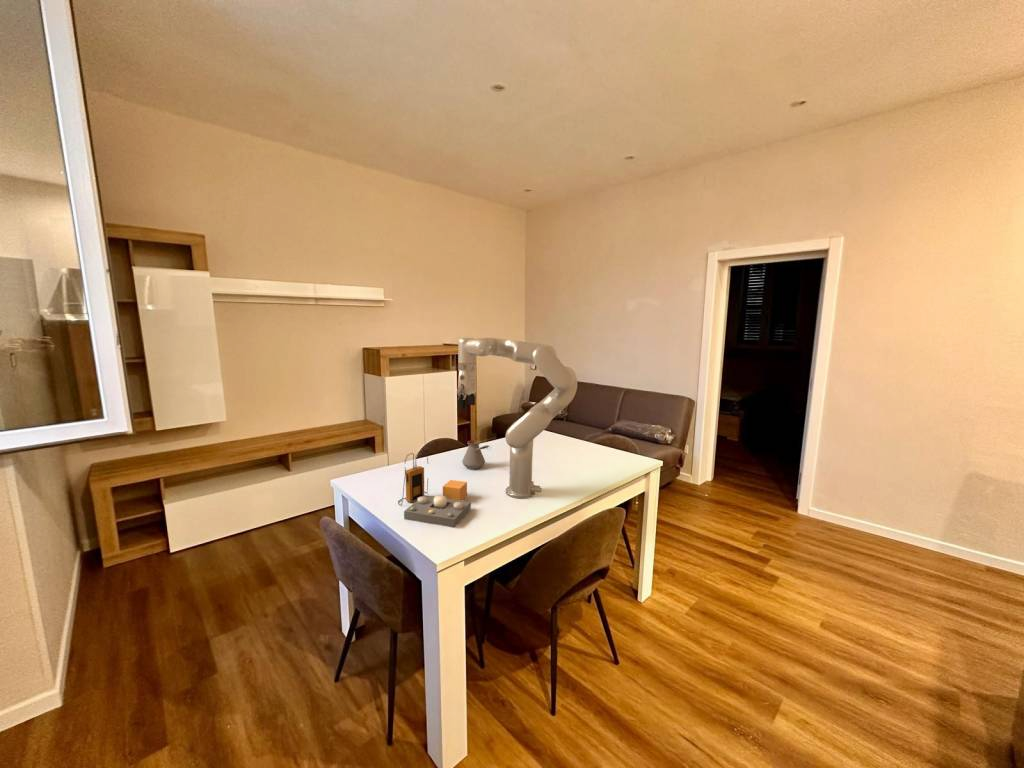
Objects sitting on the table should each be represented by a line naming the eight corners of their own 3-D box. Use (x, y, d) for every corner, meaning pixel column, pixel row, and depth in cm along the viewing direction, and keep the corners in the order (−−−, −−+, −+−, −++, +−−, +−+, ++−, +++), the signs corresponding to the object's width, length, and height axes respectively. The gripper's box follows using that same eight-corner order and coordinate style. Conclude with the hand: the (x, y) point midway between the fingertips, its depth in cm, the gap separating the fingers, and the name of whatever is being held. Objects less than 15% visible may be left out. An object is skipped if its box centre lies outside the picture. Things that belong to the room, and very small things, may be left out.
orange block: (466, 495, 169) (466, 482, 168) (459, 503, 162) (459, 488, 161) (450, 493, 171) (450, 479, 170) (442, 500, 164) (442, 486, 163)
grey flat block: (470, 509, 156) (470, 498, 156) (454, 527, 142) (454, 515, 141) (424, 502, 162) (424, 491, 161) (404, 519, 147) (403, 507, 147)
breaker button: (448, 504, 154) (448, 496, 154) (443, 509, 150) (443, 501, 149) (437, 502, 156) (437, 494, 155) (431, 507, 151) (431, 499, 151)
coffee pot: (458, 465, 205) (458, 436, 203) (478, 461, 211) (478, 433, 209) (478, 479, 187) (478, 447, 185) (499, 474, 193) (499, 444, 191)
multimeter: (416, 488, 175) (416, 443, 172) (431, 495, 169) (431, 448, 166) (387, 499, 164) (385, 451, 161) (402, 506, 158) (400, 457, 155)
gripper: (466, 369, 161) (466, 411, 164) (483, 365, 178) (482, 404, 180) (449, 368, 164) (449, 410, 166) (467, 365, 180) (467, 402, 182)
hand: (466, 407), depth 173 cm, fingers open, 9 cm apart
